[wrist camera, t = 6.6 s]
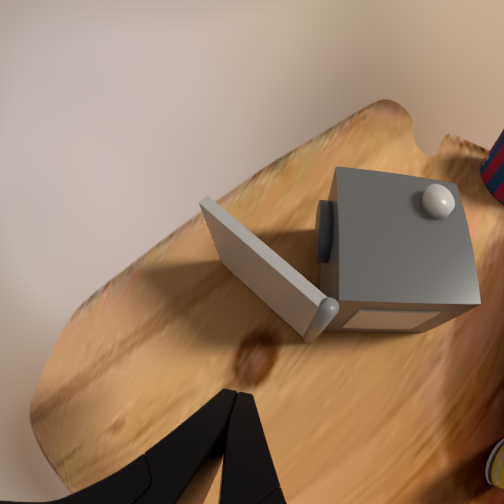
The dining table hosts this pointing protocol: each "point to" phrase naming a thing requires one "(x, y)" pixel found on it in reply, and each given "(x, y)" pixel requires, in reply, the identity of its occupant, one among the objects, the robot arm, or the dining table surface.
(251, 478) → the robot arm
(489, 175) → the mug
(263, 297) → the side door
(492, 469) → the supplement bottle
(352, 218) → the camera body
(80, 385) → the dining table surface
